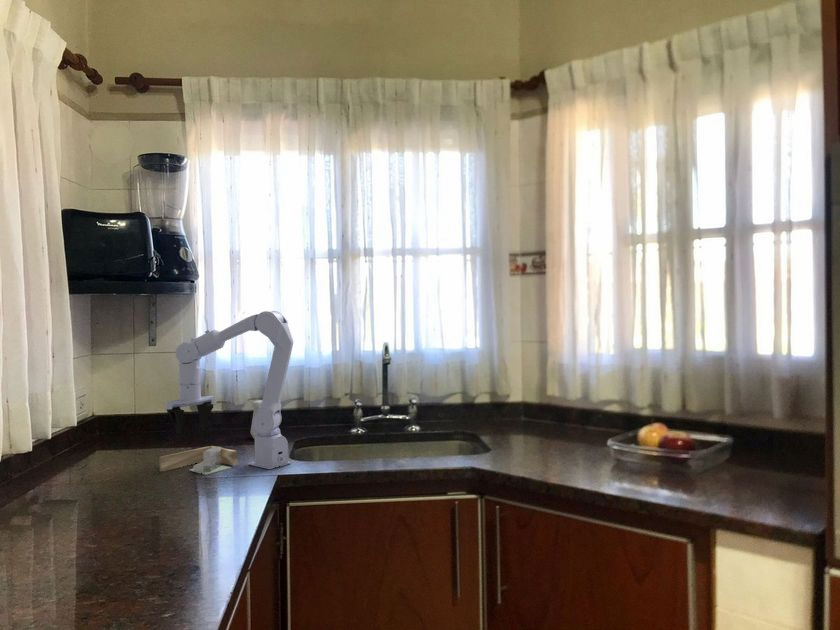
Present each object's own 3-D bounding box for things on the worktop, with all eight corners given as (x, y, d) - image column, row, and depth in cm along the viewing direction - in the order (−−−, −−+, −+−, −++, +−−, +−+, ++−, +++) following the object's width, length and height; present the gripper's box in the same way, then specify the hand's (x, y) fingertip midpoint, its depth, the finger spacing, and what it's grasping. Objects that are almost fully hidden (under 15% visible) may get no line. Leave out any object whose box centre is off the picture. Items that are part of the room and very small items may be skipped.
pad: (231, 468, 176) (230, 467, 176) (205, 474, 170) (205, 473, 170) (214, 464, 181) (214, 463, 181) (189, 470, 174) (189, 469, 174)
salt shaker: (265, 439, 214) (264, 401, 214) (248, 439, 214) (247, 402, 214) (269, 436, 220) (269, 399, 220) (253, 436, 220) (252, 399, 220)
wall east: (212, 459, 186) (211, 446, 186) (162, 471, 174) (161, 457, 174) (209, 459, 187) (209, 445, 187) (159, 471, 174) (159, 456, 174)
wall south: (237, 464, 180) (237, 450, 180) (233, 465, 179) (233, 451, 179) (212, 459, 187) (212, 445, 187) (209, 459, 186) (208, 446, 186)
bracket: (210, 471, 172) (210, 451, 172) (193, 471, 172) (193, 451, 172) (220, 466, 178) (220, 446, 177) (204, 465, 178) (204, 446, 178)
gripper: (204, 380, 189) (205, 425, 189) (159, 385, 177) (160, 433, 177) (218, 381, 184) (219, 427, 184) (172, 387, 173) (173, 436, 173)
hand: (191, 430), depth 181 cm, fingers open, 7 cm apart
